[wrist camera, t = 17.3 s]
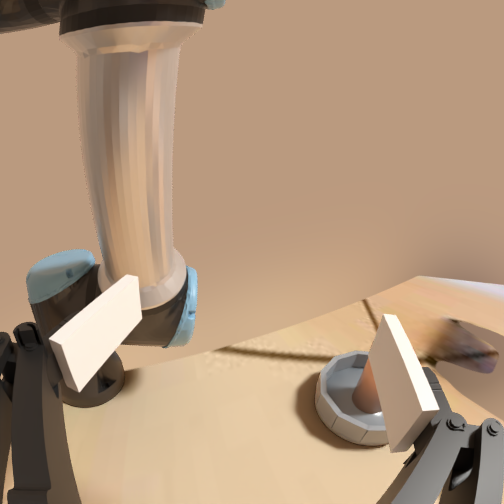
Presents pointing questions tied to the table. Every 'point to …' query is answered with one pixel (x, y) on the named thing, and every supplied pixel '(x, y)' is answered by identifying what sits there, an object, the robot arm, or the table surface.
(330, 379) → the slate bowl
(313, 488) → the table surface
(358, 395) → the terracotta jar
